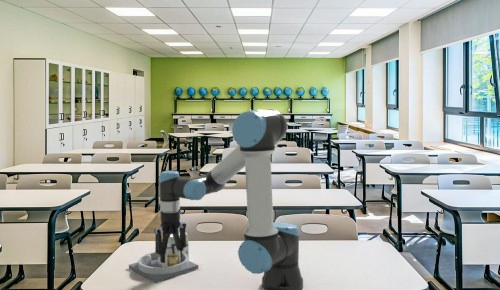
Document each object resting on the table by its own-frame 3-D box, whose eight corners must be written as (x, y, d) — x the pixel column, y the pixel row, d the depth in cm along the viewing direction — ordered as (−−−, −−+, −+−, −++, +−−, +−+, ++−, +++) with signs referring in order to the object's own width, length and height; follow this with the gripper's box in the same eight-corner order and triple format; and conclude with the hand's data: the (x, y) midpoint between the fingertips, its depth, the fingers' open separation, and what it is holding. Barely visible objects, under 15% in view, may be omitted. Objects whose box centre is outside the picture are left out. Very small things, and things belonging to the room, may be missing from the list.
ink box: (170, 264, 191) (169, 236, 190) (165, 261, 195) (165, 233, 194) (189, 260, 196) (188, 233, 194) (184, 257, 200) (183, 230, 199)
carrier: (198, 268, 187) (198, 254, 186) (155, 282, 173) (155, 267, 173) (170, 256, 201) (170, 242, 201) (128, 268, 188) (128, 254, 187)
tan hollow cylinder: (180, 268, 183) (180, 256, 183) (169, 272, 180) (168, 259, 179) (172, 264, 187) (172, 252, 186) (161, 268, 183) (161, 256, 183)
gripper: (183, 205, 189) (185, 259, 192) (144, 213, 177) (146, 271, 179) (195, 208, 184) (196, 264, 187) (154, 216, 171) (156, 277, 174)
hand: (171, 267), depth 183 cm, fingers closed on tan hollow cylinder, 5 cm apart
